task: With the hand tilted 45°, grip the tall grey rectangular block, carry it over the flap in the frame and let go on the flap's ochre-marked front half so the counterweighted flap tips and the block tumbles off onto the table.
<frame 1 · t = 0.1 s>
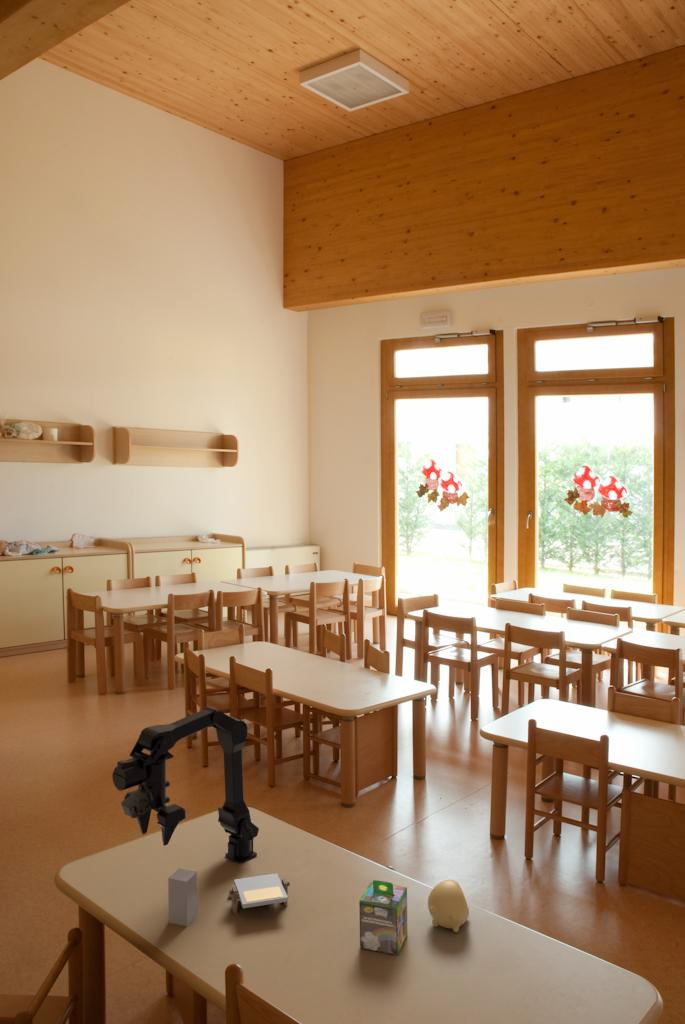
hand: (154, 839, 211), 15 cm above the table, fingers open, 9 cm apart
chalk box: (383, 942, 193), on the table
toy pig: (449, 925, 200), on the table
trapdoor: (260, 895, 206), point 3 cm above the table, hinge at 0.0°
trapdoor frame: (259, 905, 207), on the table
tall grey rectangular block: (183, 918, 201), on the table
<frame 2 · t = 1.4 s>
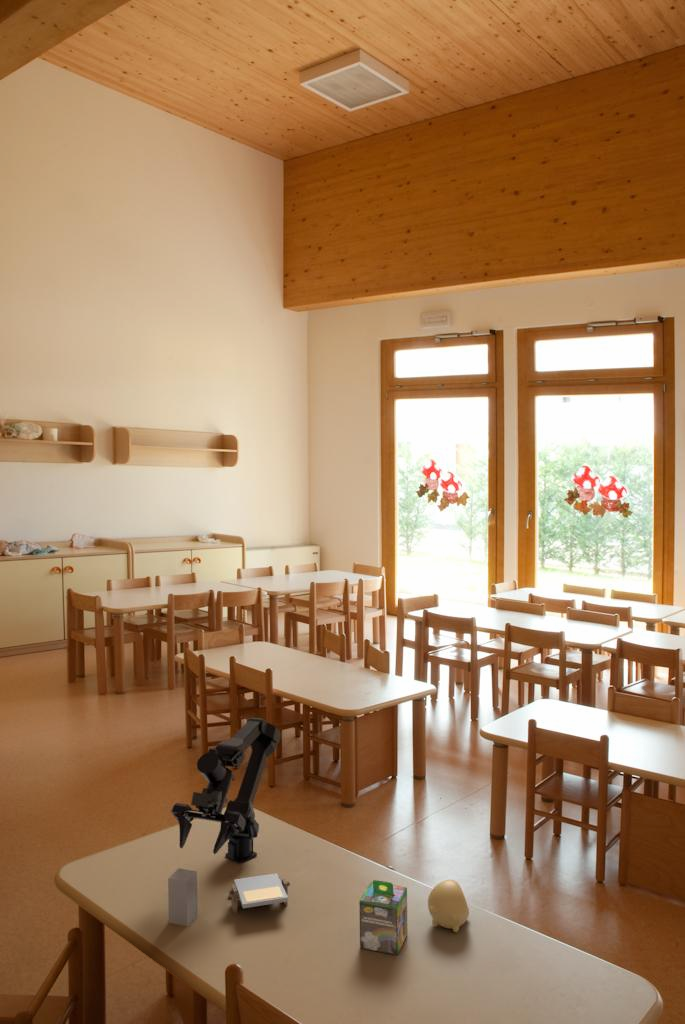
hand: (197, 850, 208), 13 cm above the table, fingers open, 9 cm apart
nothing on the table moved.
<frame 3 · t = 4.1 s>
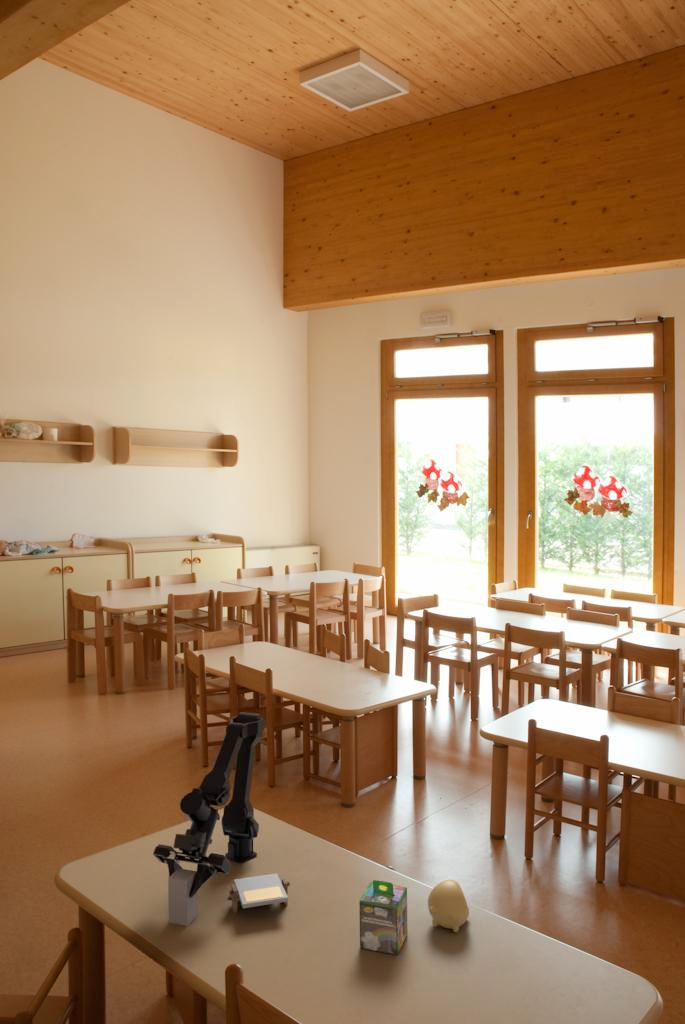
hand: (180, 895, 200), 7 cm above the table, fingers closed on tall grey rectangular block, 5 cm apart
tall grey rectangular block: (183, 918, 201), on the table, touching gripper
everything else where it was.
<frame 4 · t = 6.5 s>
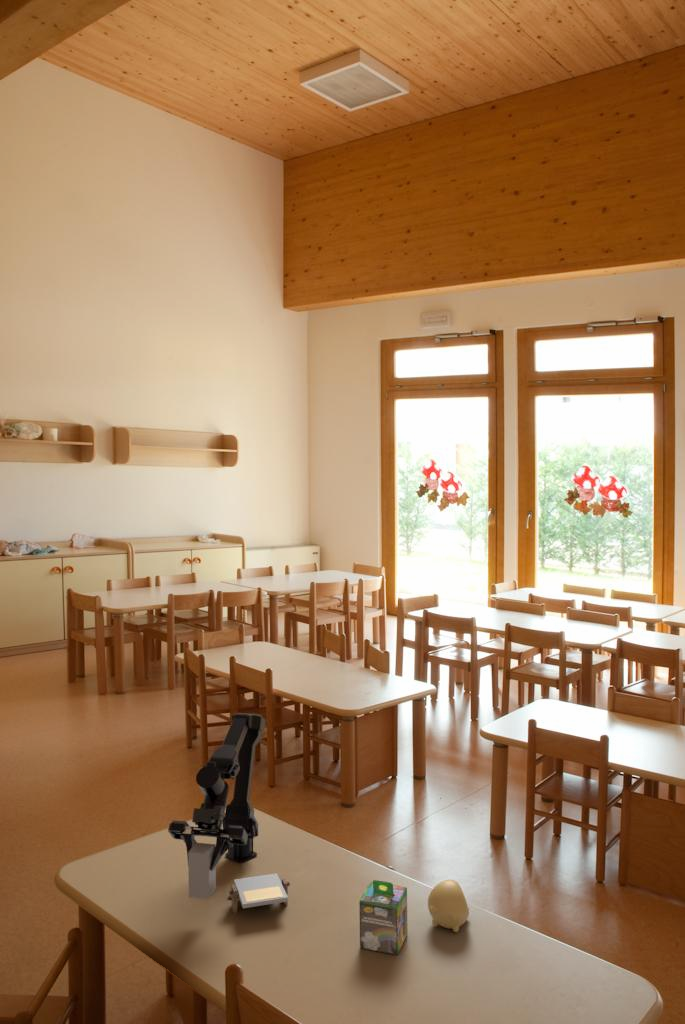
hand: (200, 869, 199), 13 cm above the table, fingers closed on tall grey rectangular block, 5 cm apart
tall grey rectangular block: (202, 892, 201), point 7 cm above the table, touching gripper
everything else where it was.
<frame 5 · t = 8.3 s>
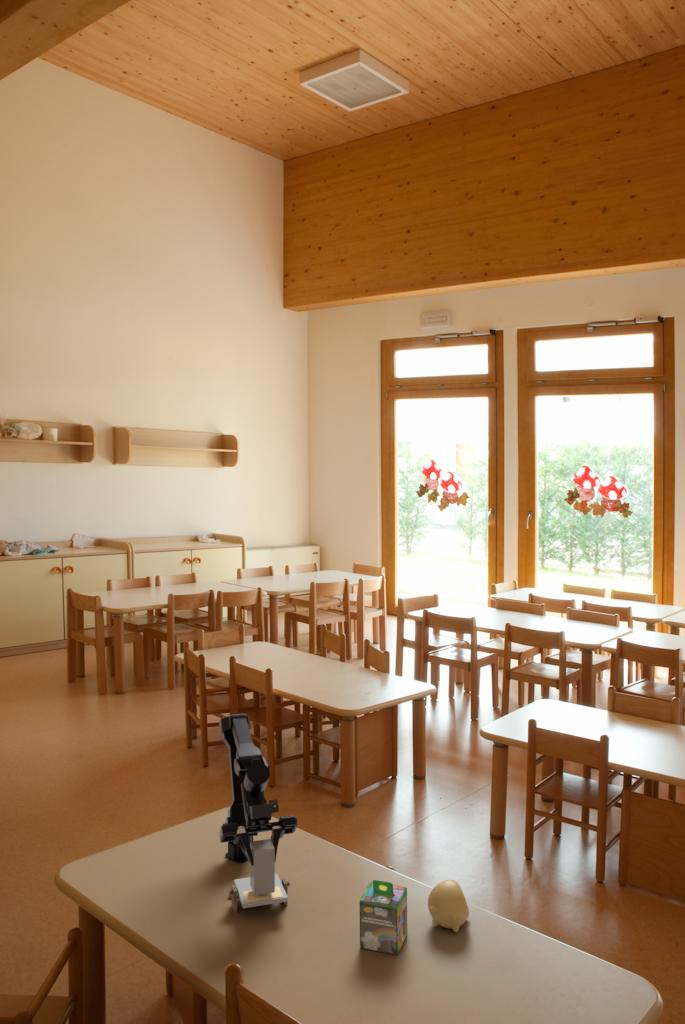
hand: (263, 863, 202), 13 cm above the table, fingers closed on tall grey rectangular block, 5 cm apart
tall grey rectangular block: (262, 888, 204), point 6 cm above the table, touching gripper
everything else where it was.
when the fingers open (13 cm above the table, at t = 8.8 s): tall grey rectangular block drops 2 cm and tips over, resting on trapdoor.
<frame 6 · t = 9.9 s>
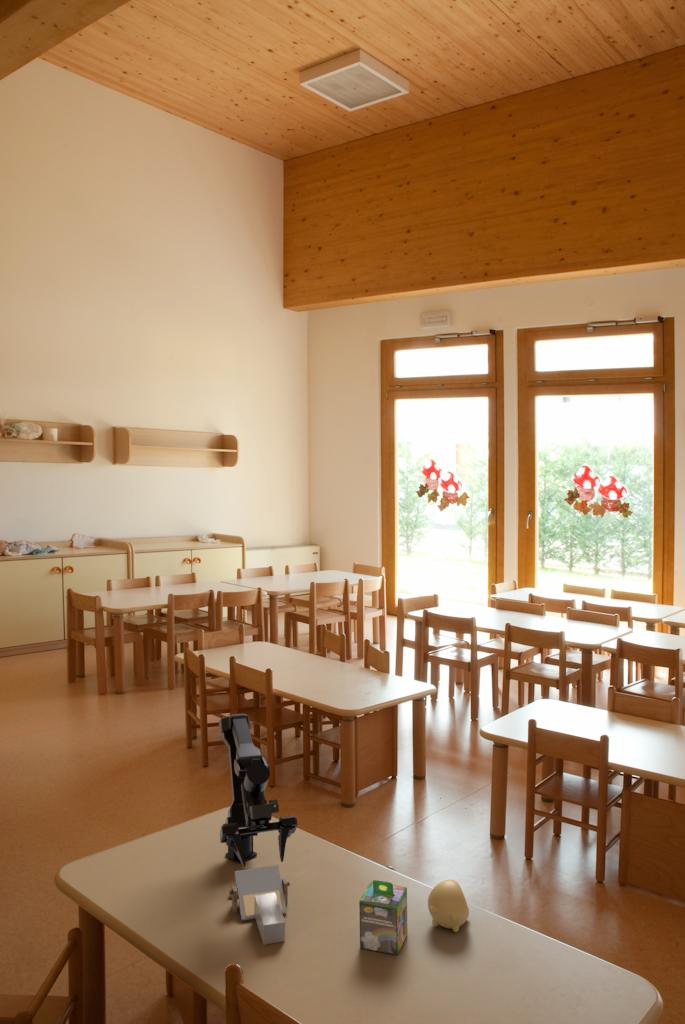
hand: (263, 864, 202), 13 cm above the table, fingers open, 9 cm apart
trapdoor: (259, 895, 207), point 3 cm above the table, hinge at 35.8°, touching tall grey rectangular block
tall grey rectangular block: (264, 903, 202), point 4 cm above the table, tilted 97°, touching trapdoor
everything else where it was.
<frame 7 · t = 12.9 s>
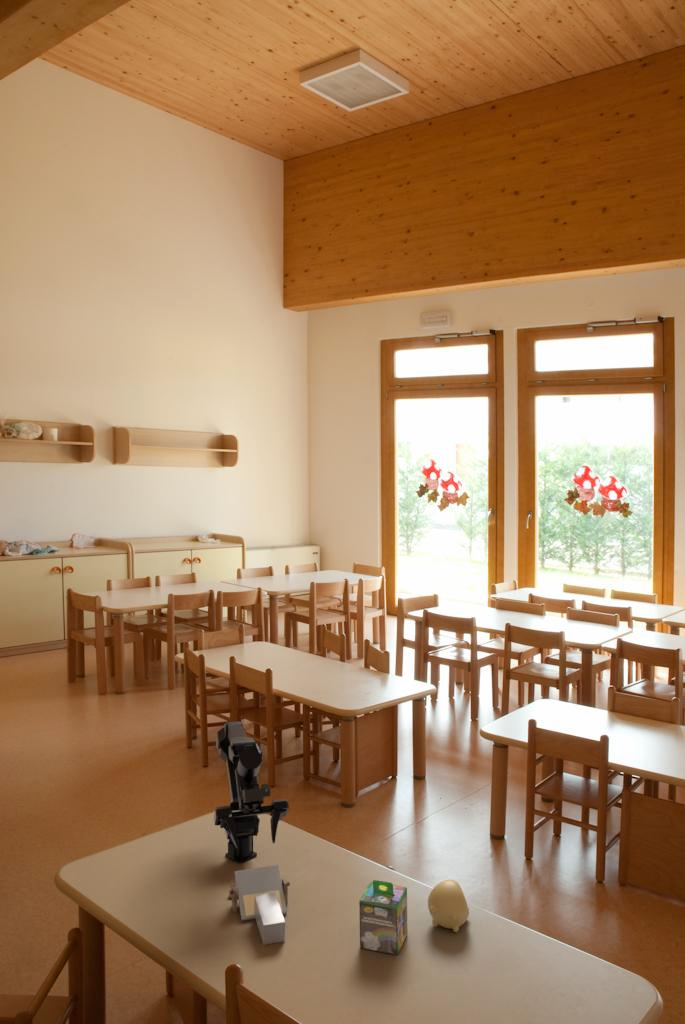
hand: (255, 845, 210), 14 cm above the table, fingers open, 9 cm apart
nothing on the table moved.
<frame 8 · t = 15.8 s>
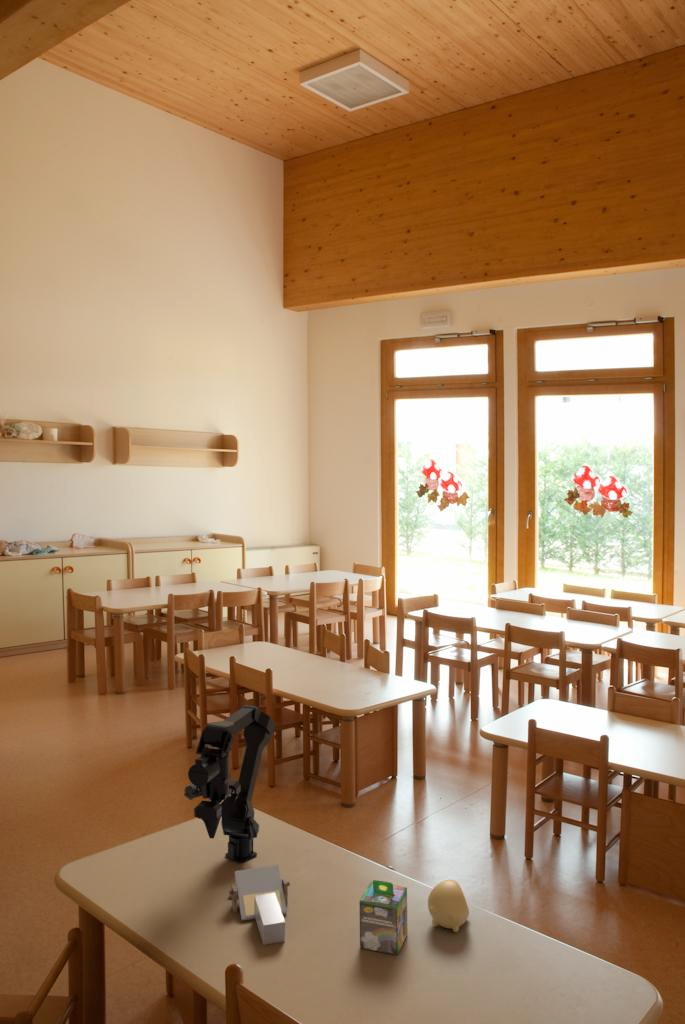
hand: (218, 830, 220), 13 cm above the table, fingers open, 9 cm apart
nothing on the table moved.
at the end: tall grey rectangular block touching table, trapdoor; tall grey rectangular block inside the target area on the table beside the trapdoor (3.2 cm from its centre), point 2.9 cm above the table; the gripper is holding nothing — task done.
